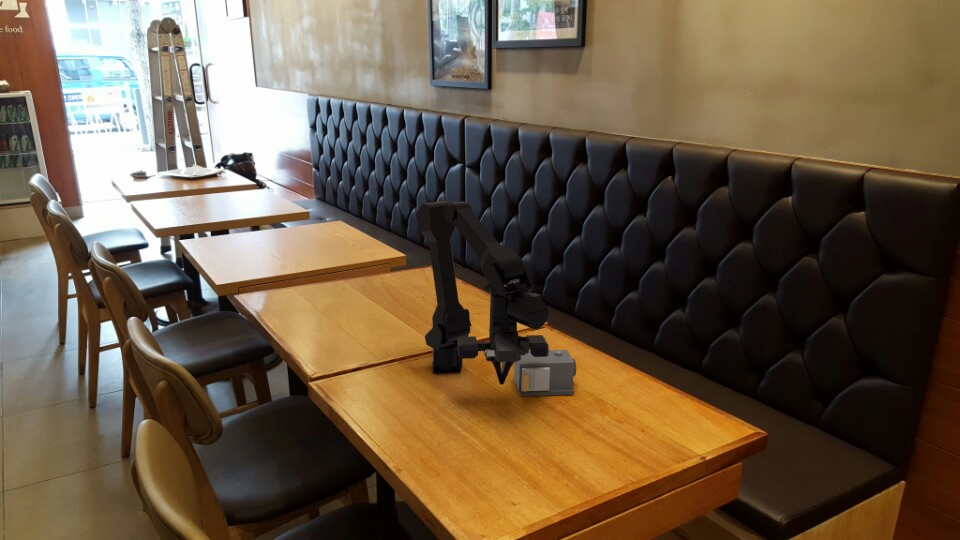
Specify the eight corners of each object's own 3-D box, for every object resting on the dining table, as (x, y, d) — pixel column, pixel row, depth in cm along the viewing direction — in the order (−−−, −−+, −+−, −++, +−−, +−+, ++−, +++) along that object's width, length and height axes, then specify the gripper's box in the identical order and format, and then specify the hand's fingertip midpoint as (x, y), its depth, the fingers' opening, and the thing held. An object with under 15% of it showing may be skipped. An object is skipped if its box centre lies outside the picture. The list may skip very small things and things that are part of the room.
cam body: (519, 396, 146) (520, 363, 144) (513, 379, 154) (514, 348, 152) (579, 394, 148) (582, 362, 145) (571, 377, 156) (572, 347, 153)
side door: (522, 393, 145) (523, 372, 143) (520, 389, 147) (521, 368, 145) (550, 392, 145) (551, 371, 144) (548, 388, 147) (549, 367, 146)
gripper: (461, 330, 131) (460, 402, 135) (556, 328, 133) (552, 400, 137) (457, 310, 141) (456, 378, 146) (545, 309, 143) (541, 376, 148)
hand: (501, 383), depth 144 cm, fingers closed
